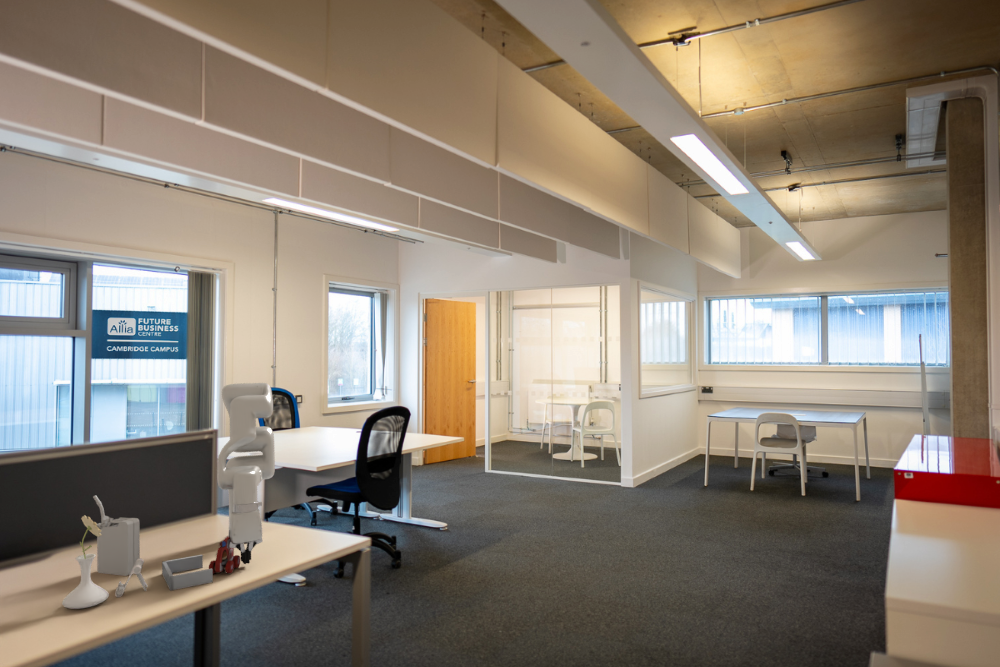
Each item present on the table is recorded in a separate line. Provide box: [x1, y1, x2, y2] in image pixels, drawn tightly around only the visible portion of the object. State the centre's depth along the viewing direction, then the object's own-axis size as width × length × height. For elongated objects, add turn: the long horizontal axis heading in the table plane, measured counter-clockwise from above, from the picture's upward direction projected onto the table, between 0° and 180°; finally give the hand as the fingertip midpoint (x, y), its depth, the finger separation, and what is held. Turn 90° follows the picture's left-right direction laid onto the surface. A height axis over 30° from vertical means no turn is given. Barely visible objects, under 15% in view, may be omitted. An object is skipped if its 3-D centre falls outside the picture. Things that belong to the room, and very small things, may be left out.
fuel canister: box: [92, 495, 141, 577], centre depth 218 cm, size 15×5×25 cm, turn 73°
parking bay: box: [161, 554, 214, 591], centre depth 211 cm, size 18×12×4 cm, turn 34°
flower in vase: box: [61, 514, 110, 610], centre depth 191 cm, size 13×11×25 cm
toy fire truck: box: [208, 537, 241, 575], centre depth 217 cm, size 7×12×10 cm, turn 0°
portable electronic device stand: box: [114, 557, 148, 598], centre depth 200 cm, size 9×8×8 cm
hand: (245, 562), depth 221 cm, fingers closed
